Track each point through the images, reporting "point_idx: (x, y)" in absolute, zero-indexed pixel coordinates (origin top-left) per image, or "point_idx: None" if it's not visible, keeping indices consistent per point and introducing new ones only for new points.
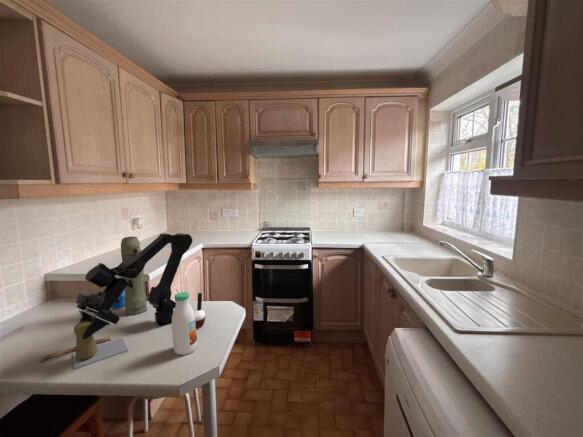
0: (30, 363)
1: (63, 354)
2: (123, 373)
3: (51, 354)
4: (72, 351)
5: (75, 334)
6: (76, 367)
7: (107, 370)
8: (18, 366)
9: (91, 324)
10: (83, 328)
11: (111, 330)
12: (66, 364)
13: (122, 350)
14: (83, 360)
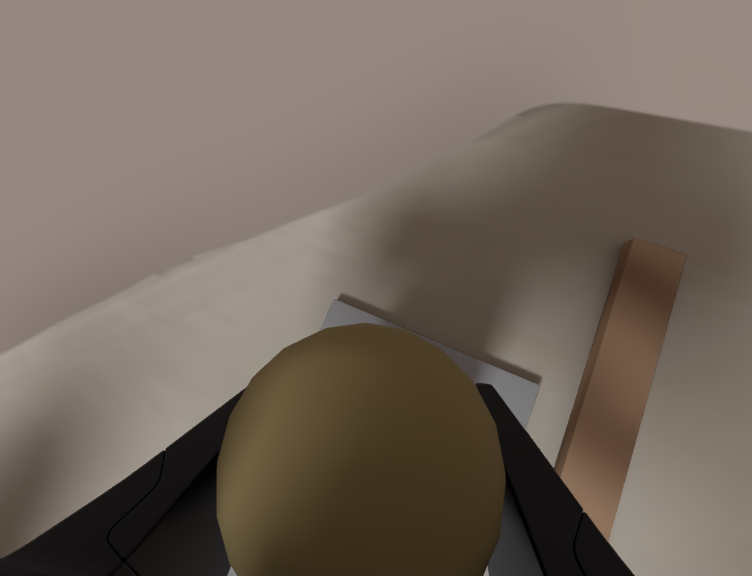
0: (668, 213)
1: (593, 353)
2: (48, 396)
3: (654, 305)
4: (576, 402)
5: (476, 384)
6: (330, 308)
7: (151, 376)
8: (692, 169)
9: (94, 517)
10: (238, 401)
11: None
12: (438, 306)
13: (231, 568)
14: None
